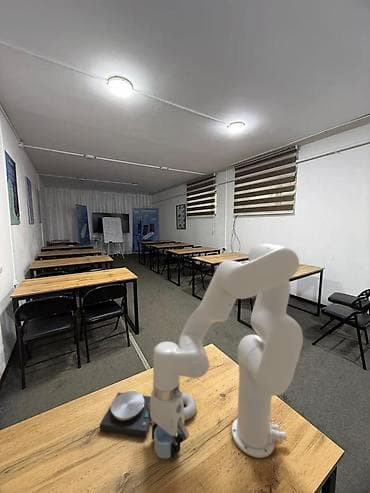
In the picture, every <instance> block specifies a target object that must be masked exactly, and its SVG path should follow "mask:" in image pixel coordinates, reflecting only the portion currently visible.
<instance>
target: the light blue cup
mask: <svg viewBox="0 0 370 493" xmlns="http://www.w3.org/2000/svg"><path fill="white" fill-rule="evenodd" d="M177 435H178V434H177V432H176V435H175V436H177ZM172 442H173V441H172V437H171V435H170V434H168V433H167V432H166V431H165V430H163V429H162V428H161V427H160V426H159V425H158V426H157V427H156V429H155V432H154V440H153V450H154V454H155V455H156V456H157V457H158V458H160V459H163V460H166V459H170V458H173V457H172V456H171V444H172Z"/></svg>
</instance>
